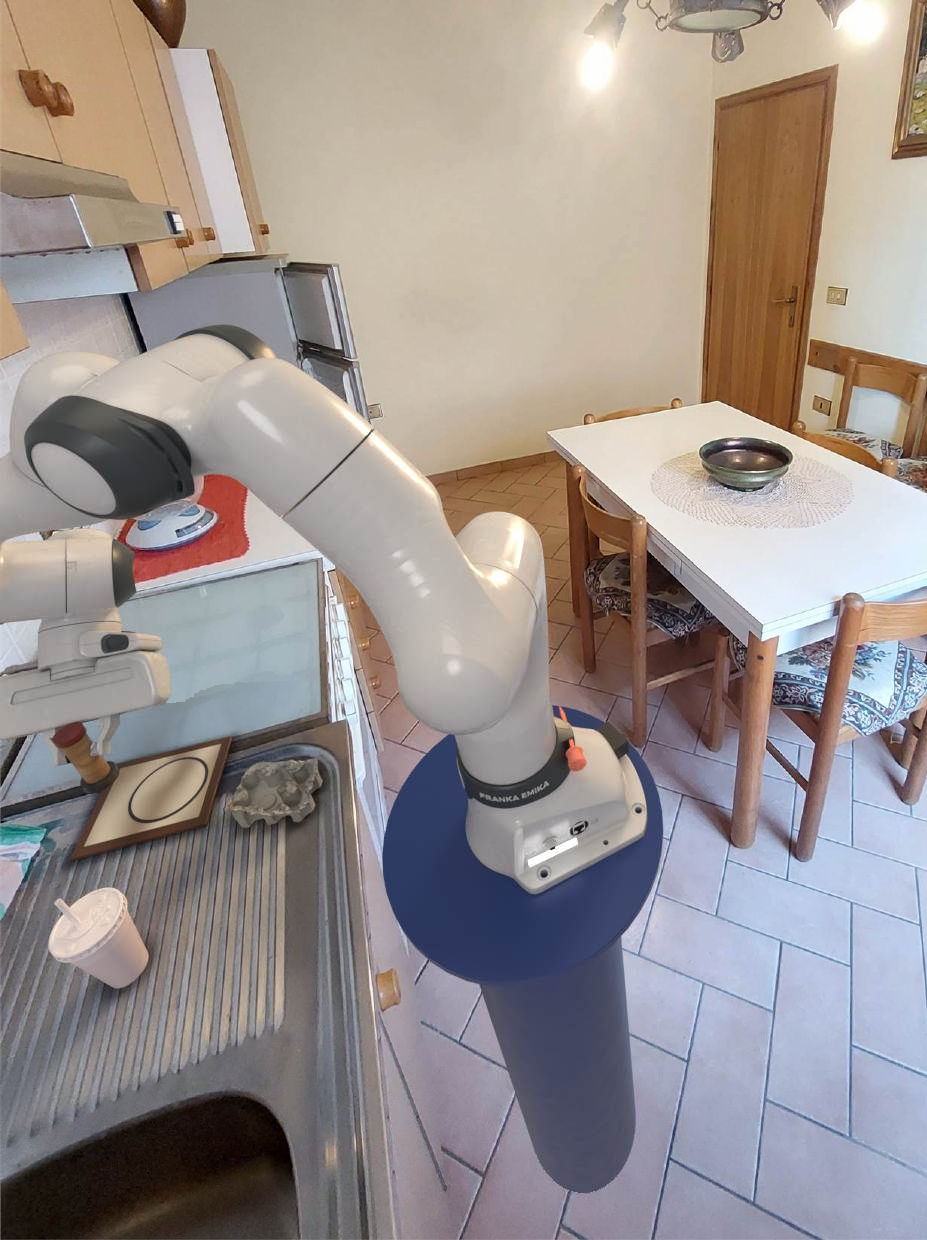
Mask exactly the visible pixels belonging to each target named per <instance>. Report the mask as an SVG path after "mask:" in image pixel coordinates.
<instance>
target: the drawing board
mask: <svg viewBox="0 0 927 1240" xmlns="http://www.w3.org/2000/svg"><path fill="white" fill-rule="evenodd" d="M233 740H234V738H233V735H230V736H224V737H222V738H217V739H213V740H209V741H205V742H201V743H196V744H191V745H188V746H185V747H180V748H176V749H172V750H167V751H164V752H160V753H156V754H151V755H147V756H144V757H139V758H134V759H131V760H126V761H122V762H119V763H118V762H117V763H115V764H116V765H117V767H118V768H119V771H120V772H119V776H118V778H117V779H116V781H115V782H114V783H113V784H112V785H110V786H109V787H108V788H106V789H105V790H103V791H101V792H100V795H99V797H98V799H97V801H96V803H95V805H94V807H93V809H92V811H91V813H90V816H89V818H88V820H87V822H86V824H85V826H84V828H83V829H82V832H81V834H80V837H79V839H78V841H77V842H76V845H75V847H74V849H73V851H72V853H71V855H70V857H69V860H70V861H71V862H76V861H80V860H83V859H87V858H90V857H94V856H98V855H101V854H105V853H109V852H114V851H117V850H121V849H125V848H129V847H132V846H136V845H139V844H143V843H148V842H151V841H154V840H159V839H163V838H166V837H170V836H174V835H177V834H181V833H184V832H189V831H193V830H196V829H200V828H204V827H207V826H208V825H209V821H210V818H211V814H212V811H213V807H214V804H215V800H216V798H217V795H218V791H219V787H220V784H221V780H222V777H223V773H224V770H225V767H226V763H227V760H228V758H229V757H228V756H229V753H230V750H231V746H232V743H233Z"/></svg>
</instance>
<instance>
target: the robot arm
mask: <svg viewBox="0 0 927 1240" xmlns="http://www.w3.org/2000/svg"><path fill="white" fill-rule="evenodd" d="M14 394H15V395H14V398H13V402H12V407H11V413H10V421H9V438H8V439H9V450H8V452H7V453H6V454H4V455H3V456H2V457H1V458H0V625H4V624H8V623H19V622H28V621H36V620H37V621H38V620H41V621H40V624H39V627H38V629H37V660H32V661H29V662H25V663H22V664H13V665H9V666H7V667H5V668H4V670H2V671H1V672H0V742H3V741H9V740H14V739H20V738H23V737H28V736H31V735H36V734H37V735H38V734H41V733H42V741H43V742H44V744H45V745H46V746H47V748H48V749H49V751H51V753H52V754H53V755H52V756H53V766H54V767H60V766H61V767H62V766H65V765H69V764H72V763H71V762H70V760H69V759H68V758H67V756H66V755H65V754H64V752H63V751H62V750H61V749H60V748H57V747H56V745H55V744H54V743H53V741H52V739H53V736H54V735H55V733H56V732H57V731H58V730H60V729H61V728H62V727H64V726H66V725H68V724H70V723H74V722H81V723H82V724H85V723H88V722H89V723H90V722H94V721H97V720H98V727H99V728H102V730H101V732H100V734H99V736H98V738H97V740H96V741H95V742H93V743H91V744H90V750H91V752H90V757H91V758H94V757H98V756H103V757H104V756H107V755H109V754H111V751H112V743H111V741H112V739H113V737H114V736H115V734H116V732H117V730H118V729H119V727H120V725H121V715H124V714H128V713H129V714H130V713H132V712H137V711H142V710H145V709H150V708H154V707H158V706H163V705H166V704H167V702H168V701H169V699H170V698H171V696H172V681H171V679H172V678H171V673H170V666H169V663H168V660H167V657H166V656H165V655H164V654H162V653H161V652H159V651H161V649H162V648H163V638H162V637H161V636H160V635H155V634H150V633H143V632H142V633H141V632H136V631H131V630H122V629H123V622H122V618H121V616H120V612H119V608H120V607H121V606H123V605H124V604H125V603H126V602H128V601H129V600H130V599H131V598H133V596H135V595H136V594H137V587H136V583H135V577H134V564H135V560H136V553H135V551H134V550H132V549H131V548H130V547H128V546H127V545H126V544H124V543H123V542H121V541H120V540H118V539H116V538H113V537H112V535H111V534H110V533H109V532H106V531H104V530H101V529H96V528H89V527H87V526H93V525H96V524H100V523H103V522H106V521H108V520H116V521H125V520H131V519H135V518H137V517H140V516H144V515H145V514H148V513H151V512H154V511H155V510H158V509H160V508H162V507H164V506H166V505H168V504H170V503H174V502H178V501H180V500H184V499H187V498H190V497H192V496H193V495H194V494H195V492H196V489H195V488H196V487H195V481H196V480H197V479H199V478H202V477H205V476H209V475H210V476H211V475H219V476H225V477H228V478H231V479H233V480H235V481H237V482H238V483H240V484H241V485H242V486H243V487H245V488H246V489H247V490H248V491H249V492H251V493H252V494H253V495H254V496H255V497H256V498H257V499H258V500H259V501H260V502H261V503H263V505H265V506H266V507H267V508H269V509H270V511H272V512H273V513H274V514H275V515H276V516H277V517H279V518H281V520H282V521H283V522H285V523H286V524H287V525H288V526H289V527H290V528H292V529H293V530H294V531H295V532H296V533H297V534H299V536H301V537H302V538H303V539H305V541H307V542H308V543H309V544H310V545H311V546H312V547H313V548H315V549H316V550H317V551H318V552H319V553H320V554H321V555H322V556H323V557H325V558H326V560H328V561H329V562H330V563H332V565H334V567H336V568H337V569H338V570H339V571H340V572H341V573H342V575H344V576H345V577H346V578H347V580H348V581H349V582H350V583H351V584H352V585H353V586H354V588H355V589H356V590H357V592H358V593H359V594H360V596H361V597H362V599H363V600H364V602H365V604H366V605H367V606H368V608H369V610H370V612H371V613H372V615H373V617H374V618H375V620H376V622H377V624H378V626H379V627H380V630H381V632H382V633H383V636H384V638H385V640H386V643H387V645H388V647H389V650H390V653H391V656H392V659H393V663H394V668H395V671H396V678H397V687H398V693H399V697H400V700H401V701H402V703H403V705H404V706H405V708H406V709H407V710H408V712H409V714H411V715H412V716H413V717H414V718H415V719H416V720H417V721H418V722H420V723H421V724H422V725H424V726H426V727H427V728H429V729H431V730H433V731H435V732H439V733H442V734H446V735H449V734H451V735H455V738H456V742H457V766H458V770H459V774H460V778H461V781H462V785H463V788H464V789H465V791H466V794H467V796H468V811H467V816H466V836H467V840H468V843H469V846H470V848H471V850H472V851H473V853H474V855H475V856H476V857H477V858H478V860H479V861H480V862H481V863H483V864H484V865H485V866H487V867H488V868H490V869H491V870H493V871H496V872H498V873H501V874H504V875H507V876H509V877H511V878H513V879H514V880H515V881H516V882H517V883H518V884H519V885H520V886H521V887H522V888H523V889H524V890H526V891H527V892H529V893H531V894H539V893H541V892H543V891H545V890H547V889H549V888H550V887H552V886H554V885H556V884H558V883H560V882H561V881H563V880H565V879H567V878H569V877H571V876H573V875H574V874H576V873H578V872H580V871H582V870H584V869H586V868H587V867H589V866H591V865H593V864H595V863H597V862H599V861H600V860H602V859H604V858H606V857H608V856H610V855H612V854H613V853H615V852H617V851H619V850H621V849H623V848H625V847H626V846H628V845H630V844H632V843H634V842H636V841H637V840H639V839H641V838H642V837H643V836H644V834H645V831H646V827H647V806H646V800H645V796H644V792H643V788H642V785H641V782H640V780H639V777H638V775H637V772H636V770H635V768H634V766H633V764H632V762H631V761H630V759H629V758H628V756H627V755H626V754H627V753H628V752H629V743H628V741H629V739H628V738H627V736H626V735H625V734H624V733H622V732H620V731H619V730H618V728H616V726H614V725H613V724H612V723H611V722H610V721H609V720H608V721H605V724H603V725H602V726H601V727H599V728H598V729H596V730H593V729H586V728H579V727H573V726H571V725H570V724H569V723H568V722H567V719H566V716H565V713H564V711H563V710H562V708H561V707H560V706H561V705H558V706H559V710H560V716H561V719H562V720H561V719H559V718H557V717H555V716H554V715H553V707H552V705H553V701H552V693H551V685H550V651H549V650H550V649H549V648H550V647H549V646H550V645H549V644H550V643H549V618H548V601H547V599H548V598H547V585H546V583H547V582H546V569H545V556H544V548H543V543H542V540H541V537H540V535H539V533H538V531H537V530H536V529H535V527H534V526H533V525H532V524H531V523H530V522H528V521H527V520H526V519H524V518H522V517H520V516H519V515H516V514H514V513H511V512H506V511H489V512H485V513H481V514H479V515H477V516H475V517H474V518H472V519H471V520H470V521H469V522H468V523H467V524H466V525H465V526H464V527H463V528H462V529H461V530H460V531H459V532H458V534H457V535H456V536H454V533H453V531H452V530H451V527H450V525H449V523H448V521H447V518H446V514H445V513H444V507H443V503H442V499H441V496H440V493H439V492H438V490H437V488H436V487H435V485H434V484H433V483H432V481H430V479H428V478H427V477H426V476H425V475H424V474H423V473H422V472H421V471H420V470H419V469H418V468H417V467H416V466H415V465H414V464H413V463H412V462H411V461H410V460H408V459H407V458H406V456H404V455H403V454H402V452H400V451H399V450H398V448H396V447H395V446H394V445H393V444H392V443H391V442H390V441H389V440H388V439H387V438H386V437H385V436H384V435H383V434H381V433H380V431H378V430H377V429H376V428H375V427H374V426H373V425H372V424H371V423H370V422H369V421H368V420H367V419H365V417H363V416H362V415H361V413H359V412H358V411H357V410H355V409H354V408H353V407H352V406H351V405H349V404H348V403H347V402H346V401H345V400H344V399H342V398H341V397H340V396H338V395H337V394H336V393H334V392H333V391H332V390H331V389H329V388H328V387H327V386H326V385H324V384H322V383H321V382H319V381H318V380H317V379H315V378H314V377H312V376H311V375H309V374H308V373H307V372H305V371H303V370H302V369H300V368H299V367H297V366H296V365H294V364H292V363H290V362H289V361H287V360H284V359H281V358H278V356H277V355H276V354H275V352H274V351H273V350H272V349H271V347H269V346H268V345H267V344H266V343H265V342H264V341H263V340H262V339H261V338H260V337H258V336H257V335H256V334H255V333H252V332H251V331H249V330H247V329H245V328H242V327H240V326H236V325H232V324H213V325H207V326H203V327H198V328H194V329H191V330H188V331H185V332H183V333H182V334H180V335H178V336H177V337H175V338H174V339H173V340H171V341H168V342H166V343H163V344H161V345H159V346H156V347H154V348H152V349H150V350H147V351H145V352H143V353H141V354H139V355H137V356H131V357H128V358H126V359H125V360H122V361H119V360H117V359H115V358H113V357H111V356H107V355H104V354H101V353H97V352H93V351H87V350H85V351H84V350H67V351H60V352H59V351H58V352H55V353H52V354H48V355H46V356H44V357H41V358H40V359H37V361H35V362H33V363H32V364H31V365H30V366H29V367H27V369H26V370H25V371H24V373H23V374H22V376H21V378H20V380H19V383H18V385H17V388H16V392H15V393H14ZM56 530H61V531H58V532H56V533H53V534H52V535H51V536H49V537H48V538H47V539H41V540H40V539H39V540H22V541H21V540H19V541H9V540H11V539H14V538H18V537H21V536H25V535H30V534H36V533H43V532H50V531H56ZM638 810H639V811H641V813H640V814H637V813H636V811H638ZM606 844H607V845H606ZM543 874H548V876H547V877H546V878H542V877H541V876H542V875H543Z"/></svg>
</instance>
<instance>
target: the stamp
mask: <svg viewBox="0 0 927 1240" xmlns="http://www.w3.org/2000/svg"><path fill="white" fill-rule="evenodd" d="M52 741H53V743H54V744H55V745H56V747H57V748H60V749H61V750H62V751H63V752H64V754H65V755H66V756H67V758H68V759H69V760H70V762H71V763H70V764H72V766H73V767H74V769H75V770H76V771H77V773H78V774H79V775H80V776H81V778H80V782H79V785H80V787H81V789H82V790H83V791H84V792H85V793H86V794H87V795H93V794H94V795H95V794H98V793H102V791H103V790H105V789H106V788H108V787H109V786H110V785H112V784H113V783H114V782H115V781H116V779H117V778H118V776H119V772H120V771H119V768H118V767H117V765H116V764H117V763H116V762H115V761H113V760H106V759H105V757H104V755H103V756H98V757H94V758H91V757H90V752H91V750H90V744H91V743H94V742H93V740H92V739H91V737H90V736H89V735H88V733H87V727H86V726H85V725H84V723H81V722H74V723H70V724H68V725H66V726H64V727H62V728H61V729H60V730H58V731H57V732H56V733H55V735H54V736H53V739H52Z"/></svg>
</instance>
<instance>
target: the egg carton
mask: <svg viewBox="0 0 927 1240" xmlns="http://www.w3.org/2000/svg"><path fill="white" fill-rule="evenodd" d="M318 765H319V757H314V758H309V759H306V760H300V759H298V760H294V759H288V760H283V761H280V760H279V761H275V762H271V761H260V762H256V763H254V764H253V765H251V766H250V767H248V768H247V769H246V771H245V772H244V774H243V775H242V777H241V780H240V783H239V785H238V786H237V787H236V790H235V796H234V798H233V800H232V799H231V798H230V800H228V802H227V804H226V806H224V807H223V808H222V811H223V812H222V813H225V811H226V812H229V811H230V812H231V815H232V816H233V818H234V819H235V821H236V822H237V823H238V824H239V826H240V827H241V828H243V829H247V828H248V829H249V828H250V827H251V826H252V825H253V824H254V823H255V822H256V821H258V820H262V819H264V821H265V823H266V825H267V826H270V825H275V824H278V822H279V821H280V820H281V819H282V818H284V817H287V816H290V817H291V818H292V822H294V823H300V822H302V821H303V820H304V819H305V817H306V816H308V815H309V814H311V813H312V812H313V811H314V810H315V808H316V802H315V801H314V798H313V797H312V796H313V795H312V794H313V793H314V792H315V791H316V790H318V789H319V788H321V787H322V784H323V779H322V776H321V775H320V771H319V766H318Z"/></svg>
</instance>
